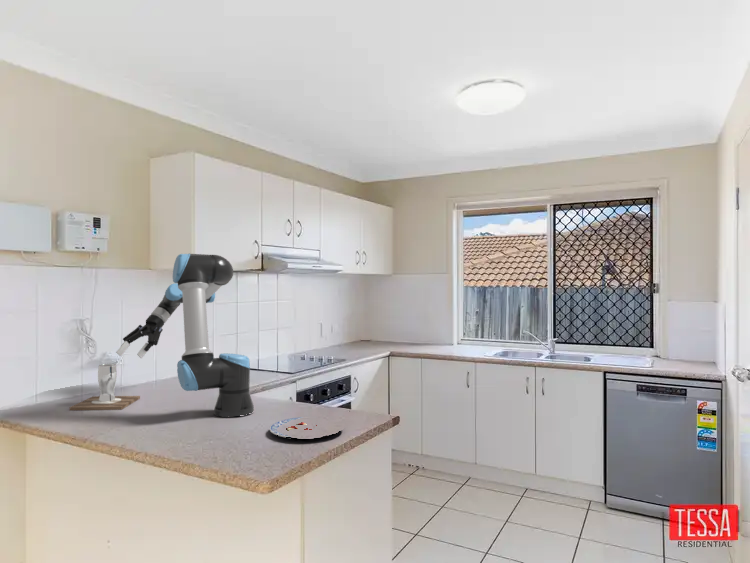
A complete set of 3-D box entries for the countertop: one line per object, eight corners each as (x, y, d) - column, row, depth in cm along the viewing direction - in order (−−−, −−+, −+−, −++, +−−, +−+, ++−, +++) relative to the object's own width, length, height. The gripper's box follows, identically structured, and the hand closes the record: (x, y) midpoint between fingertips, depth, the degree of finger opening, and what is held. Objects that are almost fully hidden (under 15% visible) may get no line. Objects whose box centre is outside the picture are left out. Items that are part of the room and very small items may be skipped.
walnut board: (121, 409, 203) (121, 405, 203) (69, 410, 202) (69, 406, 202) (139, 398, 223) (140, 395, 223) (92, 399, 221) (92, 395, 221)
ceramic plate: (315, 449, 157) (315, 440, 157) (253, 436, 170) (253, 427, 170) (358, 429, 179) (358, 420, 179) (300, 419, 192) (300, 411, 192)
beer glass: (120, 399, 215) (120, 364, 215) (107, 403, 208) (107, 366, 208) (106, 398, 217) (107, 363, 217) (93, 401, 210) (94, 365, 210)
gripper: (181, 325, 232) (153, 362, 218) (143, 323, 243) (115, 358, 230) (172, 314, 227) (143, 351, 214) (134, 313, 238) (104, 348, 225)
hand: (128, 355), depth 222 cm, fingers open, 13 cm apart
